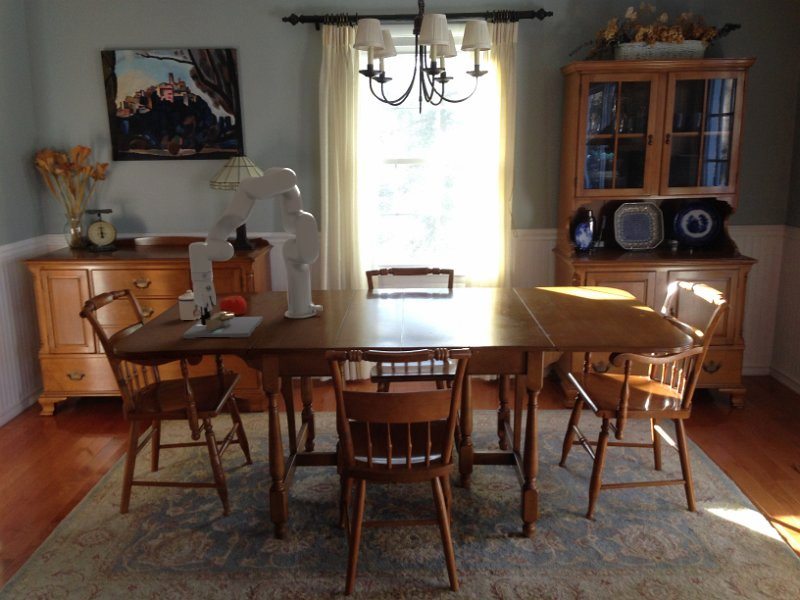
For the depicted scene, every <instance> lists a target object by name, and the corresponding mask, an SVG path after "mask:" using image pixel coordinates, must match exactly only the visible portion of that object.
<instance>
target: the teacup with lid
mask: <svg viewBox="0 0 800 600" xmlns="http://www.w3.org/2000/svg"><path fill="white" fill-rule="evenodd" d="M185 292H186V293H183V294H182V295H180V296H178V298H177V300H178V306H179V315H180V320H181V321H183V320H193V321H197V320H196V319H198V320H201V319H200V318H201V314H200V310H199V307H198V305H196V304H195V302H194V293H193V292H192V290H191V289H188V290H186V291H185Z"/></svg>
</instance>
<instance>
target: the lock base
mask: <svg viewBox="0 0 800 600" xmlns="http://www.w3.org/2000/svg"><path fill="white" fill-rule="evenodd" d="M263 320H264V319H263V316H234V318H233V319H230V320H224V321H222V326H220V327H218V328H216V329H214V330H207V329H206V325H205V326H204V325H202V324H201V319H198V321H196V323H195V324H193V325H192V326H191V327H190V328H189V329H188V330H186V331H185V332H184V333H183V334H182V339H183V338H186V339H196V338H195V337H230V338H249V337H250V336H251V335H252V334H253V333H254V331H255V330H256V329H257V328H258V327H259V325H260V324H261V323H262V322H263ZM261 321H262V322H261ZM256 327H257V328H256ZM255 328H256V329H255ZM252 332H253V333H252ZM251 333H252V334H251Z"/></svg>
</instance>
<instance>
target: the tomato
mask: <svg viewBox="0 0 800 600" xmlns="http://www.w3.org/2000/svg"><path fill="white" fill-rule="evenodd" d="M247 305H248V304H247V301H246V299H245V298H244V297H242V296H241V295H229V296H227V297H224V298H222V299H221V301H220V303H219V309H220V312H223V311H226V312H233V313H234V317H236V316H237V315H238V316H241V315H243V314H244V313H246V310H247Z"/></svg>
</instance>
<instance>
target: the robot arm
mask: <svg viewBox="0 0 800 600" xmlns="http://www.w3.org/2000/svg"><path fill="white" fill-rule="evenodd" d="M297 180H298V177H297V174H296V173H295V171H294V170H292V169H291V168H287V167H269V168H267V169H266V170H265V171H264V172H263V174H262V175H261V176H246V177H244V178H243V179H241V181H240V182H239V183H238V185H237V187H236V190H235V192H234V194H233V196H232V198H231V200H230V202H229V203H228V205H227V208H226V209H225V211H224V213H222V215H220V217H219V218H218V219H217V221H216V222H215V223H214V224H213V225H212V227H211V228H210V230H209V233H208V234H207V236H206V238H205V241H196V242H192V243H190V244H189V245H188V255H189V264H190V265H189V266H190V276H191V282H192V284H193V285H192V289H193V293H194V302H195V304H196V305H198V307H199V310H200V314H201V319H200V320H201V324H202V325H204V326H205V325H206V319H208V318H210V317H212V316H211V314H212V311H213V307H217V299H216V298H217V296H216V291H215V290H216V289H215V285H214V281H213V280H214V275H213V262H225V261H228V260H230V259H232V257H233V256H234V253H235V248H234V246H233V245H232V244H231V242H229V241H227V240H228V239H229V237H230V235H231V234H233V232H234V231H235V230H236V229H238V228H239V227H241V226H242V225H244V224H245V223H247V222H248V220H249V219H250V216H251V214H252V212H253V210H254V208H255V206H256V204H257V202H258V201H265V200H268V199H272V198H274V197H278V199H279V202H280V203H279V204H280V211H281V222H282V228H283V230H284V232H286V233H287V234H290V235H292V236H295V237H290V238H287V239H286V240H285V241H284V243H283V245H282V249H281V250H282V251H281V252H282V257H283V262H284V267H285V276H286V277H285V278H286V279H285V281H286V292H287V293H286V297H287V308H288V310H287V311H285V312H284V316H285V317H286V318H289V319H307V318H310V317H311V318H312V317H314V316H315V315H316V314H317V311H318V312H319V311H320V312H321V311H323V310H324V309H323V305H321V304H318V305H317V304H316V305H315V304H314V301H313V302H312V289H311V288H312V287H311V272H310V266H309V265H311V264H313V263H315V262H316V261H317V259H318V258H319V256H320V243H319V242H320V241H319V232H318V223H317V220H316V219H315V217H314V215H313V214H311V213H309V212H307V211H304V206H303V200H302V195H301V191H300V189H299V188H298V186H297V184H298V183H297V182H298V181H297Z"/></svg>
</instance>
